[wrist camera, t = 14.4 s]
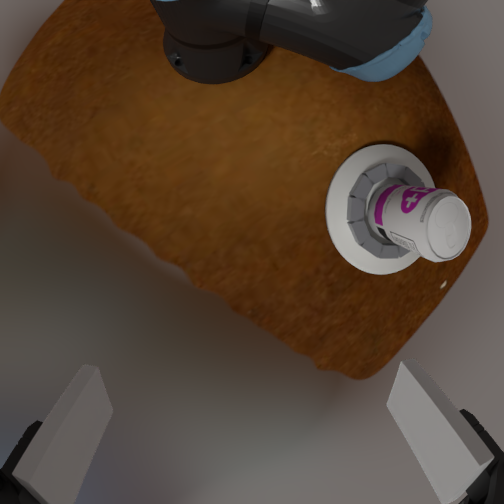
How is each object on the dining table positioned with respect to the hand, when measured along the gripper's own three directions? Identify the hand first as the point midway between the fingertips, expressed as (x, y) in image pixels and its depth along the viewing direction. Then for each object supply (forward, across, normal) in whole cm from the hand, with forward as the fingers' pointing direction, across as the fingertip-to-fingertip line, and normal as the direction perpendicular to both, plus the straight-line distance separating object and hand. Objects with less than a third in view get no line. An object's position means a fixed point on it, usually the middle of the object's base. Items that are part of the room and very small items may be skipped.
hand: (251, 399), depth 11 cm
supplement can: (+31, +22, +5) cm, 38 cm away
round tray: (+32, +22, +5) cm, 39 cm away
